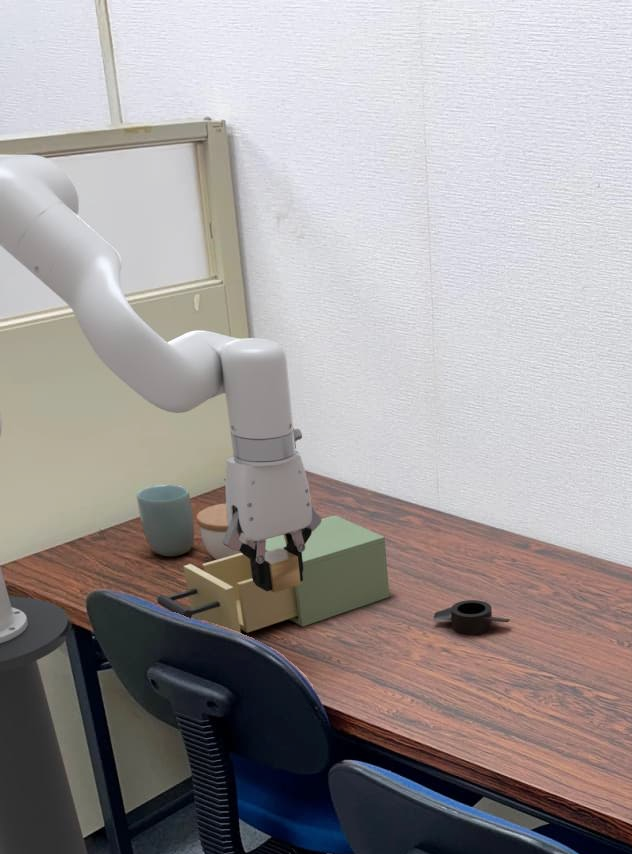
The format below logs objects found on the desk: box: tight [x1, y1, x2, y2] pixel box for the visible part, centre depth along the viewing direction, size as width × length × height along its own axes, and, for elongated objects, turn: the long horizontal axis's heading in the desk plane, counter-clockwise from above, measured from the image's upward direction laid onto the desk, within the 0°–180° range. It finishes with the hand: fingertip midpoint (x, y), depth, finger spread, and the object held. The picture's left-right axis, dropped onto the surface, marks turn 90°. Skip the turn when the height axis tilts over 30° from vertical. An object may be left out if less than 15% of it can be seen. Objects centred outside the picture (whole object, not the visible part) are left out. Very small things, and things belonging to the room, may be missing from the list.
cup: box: [136, 484, 196, 558], centre depth 192 cm, size 8×8×10 cm
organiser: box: [265, 514, 390, 628], centre depth 177 cm, size 16×13×10 cm
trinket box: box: [196, 502, 246, 560], centre depth 190 cm, size 11×11×9 cm
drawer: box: [156, 553, 298, 634], centre depth 169 cm, size 20×11×8 cm, turn 136°
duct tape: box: [433, 599, 511, 636], centre depth 172 cm, size 8×10×3 cm
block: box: [265, 548, 301, 593], centre depth 156 cm, size 4×4×4 cm
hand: (279, 581), depth 157 cm, fingers closed on block, 4 cm apart
